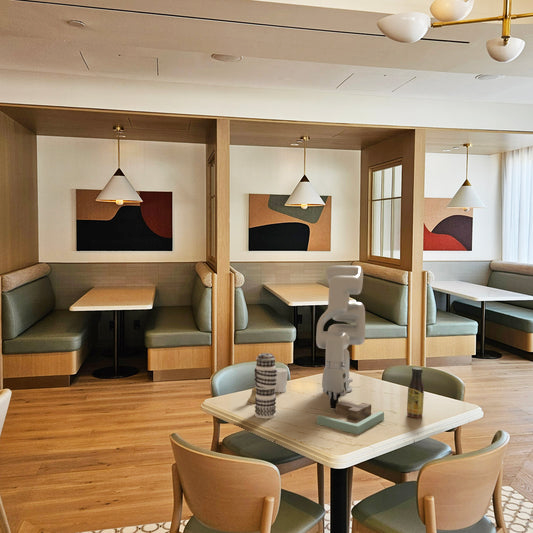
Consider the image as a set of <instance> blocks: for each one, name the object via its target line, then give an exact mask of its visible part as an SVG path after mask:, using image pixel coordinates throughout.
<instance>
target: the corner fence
mask: <svg viewBox="0 0 533 533" xmlns="http://www.w3.org/2000/svg"><path fill="white" fill-rule="evenodd" d="M384 420H385V411H381V410H379V411H376V412H375V413H374V414H371V415H369V416H367V417H365V418H363V419H361V420H359V421H358V422H357V423H354V422H350V421H346V420H342V419H337V418H334V417H330V416H326V415H321V414H318V415H317V416H316V425H320V426H323V427H327V428H331V429H335V430H339V431H342V432H347V433H351V434H355V435H359V434H362V433H363V432H365V431H367V430H368V429H370V428H372V427H374V426H375V425H377V424H379V423H381V422H382V421H384Z"/></svg>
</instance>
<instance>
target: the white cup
mask: <svg viewBox="0 0 533 533" xmlns="http://www.w3.org/2000/svg"><path fill="white" fill-rule="evenodd" d="M275 370H277V372H276V373H275V374H277V376H275V379H276V381H275V383H276V387H275V393H280V392H281V393H285V392H286V391H287V384H288V373H289V372H288V369H287V368H285V367H283V368H282V367H275Z"/></svg>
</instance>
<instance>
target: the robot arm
mask: <svg viewBox="0 0 533 533" xmlns="http://www.w3.org/2000/svg"><path fill="white" fill-rule="evenodd" d="M325 277H326V281H327V284H328V301H327V302H328V303H327V309H325V311H324V313H322V314H321V316H320V317H319V319H318V322H317V324H316V336H315V340H316V341H315V342H316V346H317V348H319V349H324V350H325V366H324V368H323V371H322V372H323V373H322V380H321V387H322V392H323V393H324V394H326V395H327V396H328V398H329V407H330V409H333V410H334V409H335V410H336V403H338V402H339V399H340V397H346V395H347V393H349V392H352V391H353V387H352V386H351V385H350V384H351V383H352V382H353V379H352V378H350V351H349V350H348V347H349V346H350V345H353V346H361V345H363V344H364V343H365V340H366V308H365V305H364V304H363V302H360V301H350V295H354V296H355V295H356V296H357V295H360V294H361V293H362V290H363V284H364V282H363V281H364V270H363V268H362V267H361V266H360V265H342V264H341V265H338V264H337V265H336V264H335V265H329V266H327V267H326V268H325ZM331 319H332V320H334V321H336V322H347V323H348V322H352V323H354V324H349V323H348V324H347V323H346V324H345V323H333V324H332V325H330V326H329V327H328V329H327V331H324V326H325V325H326V323H327V322H328V321H329V320H331Z"/></svg>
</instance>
